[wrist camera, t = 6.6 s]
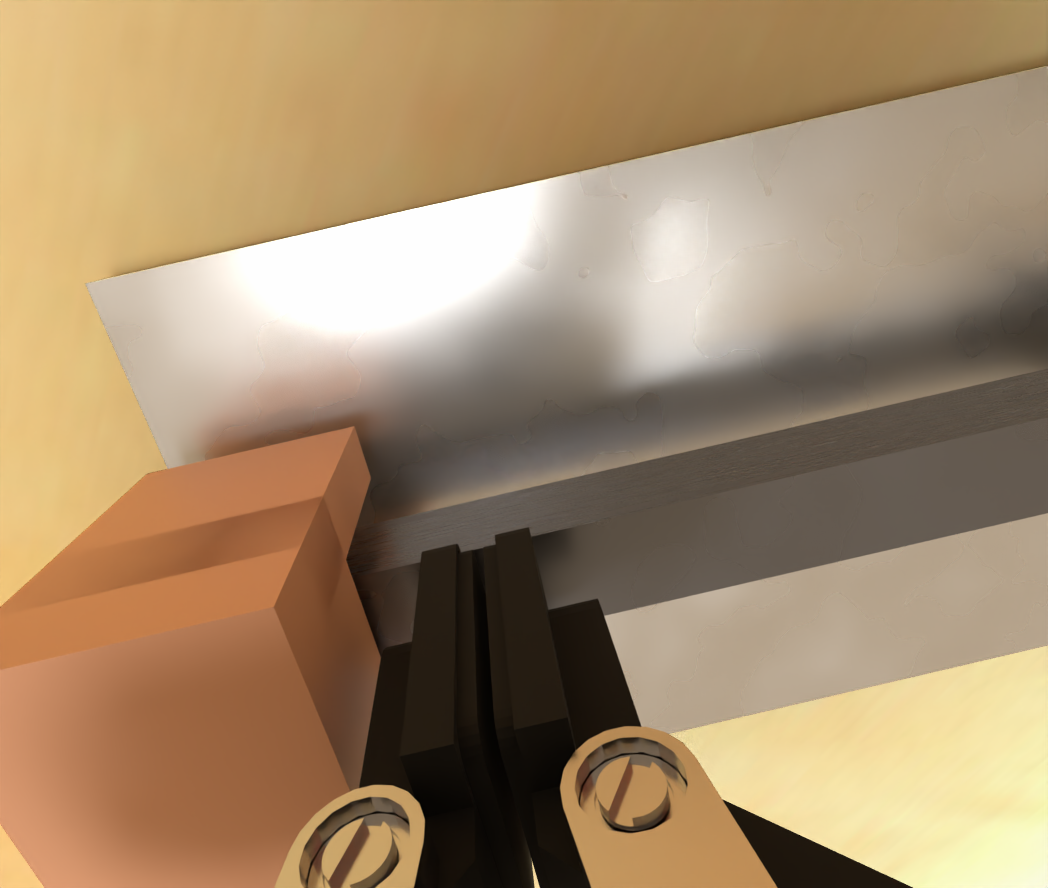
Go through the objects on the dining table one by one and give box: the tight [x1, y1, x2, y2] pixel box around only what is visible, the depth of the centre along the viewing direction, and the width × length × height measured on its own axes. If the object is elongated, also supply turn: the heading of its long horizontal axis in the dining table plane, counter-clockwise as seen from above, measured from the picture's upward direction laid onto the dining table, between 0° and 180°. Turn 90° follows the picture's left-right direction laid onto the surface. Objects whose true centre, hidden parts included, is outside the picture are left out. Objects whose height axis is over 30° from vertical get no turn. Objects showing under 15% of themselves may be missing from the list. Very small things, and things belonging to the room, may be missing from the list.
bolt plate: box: [86, 65, 1048, 734], centre depth 16 cm, size 25×14×1 cm, turn 102°
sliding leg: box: [0, 426, 381, 888], centre depth 11 cm, size 4×5×7 cm
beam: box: [346, 369, 1048, 657], centre depth 13 cm, size 25×2×4 cm, turn 102°
